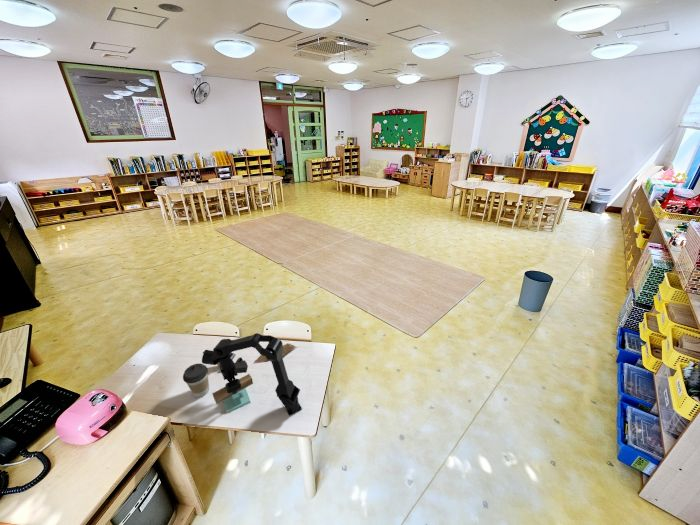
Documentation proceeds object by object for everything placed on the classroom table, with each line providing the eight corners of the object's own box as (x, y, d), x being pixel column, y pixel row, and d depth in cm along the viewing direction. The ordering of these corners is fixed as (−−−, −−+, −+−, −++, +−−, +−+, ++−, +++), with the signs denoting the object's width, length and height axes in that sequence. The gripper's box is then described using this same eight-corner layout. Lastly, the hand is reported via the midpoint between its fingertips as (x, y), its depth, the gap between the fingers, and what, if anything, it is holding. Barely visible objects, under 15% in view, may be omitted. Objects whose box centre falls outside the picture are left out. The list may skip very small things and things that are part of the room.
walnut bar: (253, 383, 148) (251, 377, 147) (216, 404, 138) (214, 398, 136) (250, 379, 151) (248, 373, 149) (214, 399, 140) (212, 393, 139)
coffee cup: (198, 381, 158) (191, 360, 151) (218, 384, 156) (211, 362, 150) (184, 399, 148) (176, 378, 141) (205, 402, 146) (197, 380, 139)
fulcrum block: (250, 402, 145) (248, 393, 143) (227, 413, 140) (224, 404, 138) (244, 387, 154) (242, 378, 151) (222, 396, 149) (220, 388, 146)
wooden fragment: (293, 341, 185) (293, 340, 184) (299, 353, 176) (298, 351, 175) (251, 355, 175) (251, 354, 174) (255, 368, 166) (254, 367, 165)
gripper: (249, 369, 133) (255, 394, 140) (239, 346, 148) (245, 369, 154) (223, 380, 128) (231, 405, 135) (216, 355, 142) (222, 378, 149)
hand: (233, 388), depth 144 cm, fingers open, 7 cm apart
